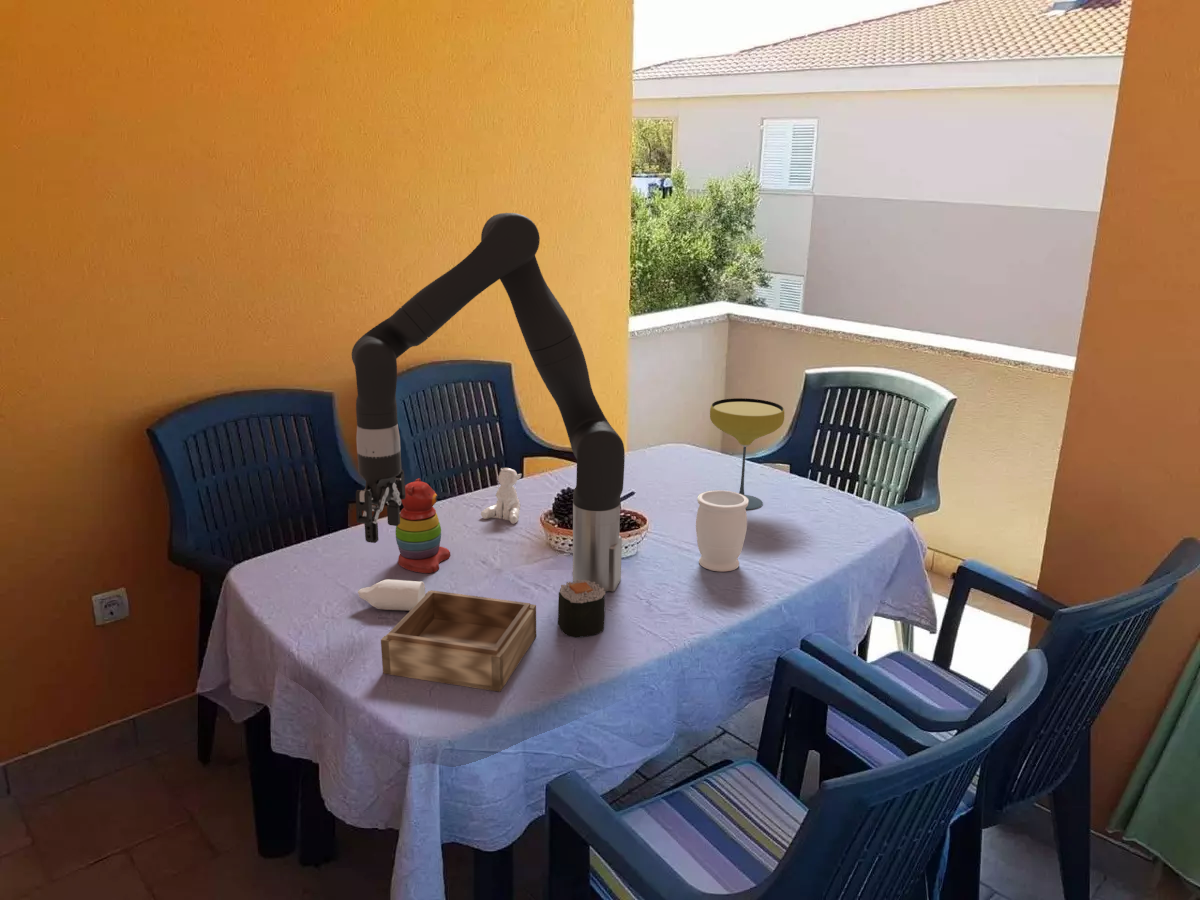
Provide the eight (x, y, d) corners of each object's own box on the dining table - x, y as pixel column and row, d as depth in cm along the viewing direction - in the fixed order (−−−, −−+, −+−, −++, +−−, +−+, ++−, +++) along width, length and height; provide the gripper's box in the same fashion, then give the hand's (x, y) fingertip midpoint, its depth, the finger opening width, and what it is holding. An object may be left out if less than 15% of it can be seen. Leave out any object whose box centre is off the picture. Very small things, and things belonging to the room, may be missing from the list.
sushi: (569, 641, 156) (569, 600, 154) (552, 620, 164) (552, 580, 161) (611, 632, 159) (612, 592, 157) (593, 612, 167) (593, 573, 164)
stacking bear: (434, 574, 181) (430, 492, 176) (388, 569, 183) (383, 488, 178) (453, 553, 191) (450, 475, 186) (409, 549, 193) (405, 472, 188)
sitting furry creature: (479, 519, 211) (478, 471, 207) (496, 507, 219) (495, 460, 215) (515, 524, 208) (514, 476, 204) (531, 512, 216) (530, 465, 212)
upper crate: (530, 633, 157) (530, 603, 155) (497, 684, 141) (496, 650, 139) (432, 620, 161) (430, 590, 159) (389, 667, 146) (387, 634, 144)
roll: (364, 599, 170) (362, 573, 169) (426, 601, 170) (424, 575, 168) (354, 614, 165) (352, 587, 163) (418, 616, 164) (417, 589, 163)
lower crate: (536, 636, 158) (536, 604, 156) (500, 691, 141) (499, 657, 139) (430, 621, 162) (428, 590, 160) (382, 673, 145) (380, 639, 143)
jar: (749, 559, 191) (754, 494, 186) (736, 578, 182) (740, 510, 177) (702, 550, 195) (706, 486, 190) (687, 568, 186) (690, 501, 181)
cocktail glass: (726, 485, 236) (731, 394, 229) (789, 500, 226) (797, 405, 219) (692, 504, 222) (696, 408, 215) (757, 521, 212) (764, 420, 205)
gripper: (379, 462, 150) (383, 550, 155) (415, 439, 164) (419, 521, 168) (339, 458, 152) (345, 545, 157) (378, 436, 165) (383, 517, 170)
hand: (383, 533), depth 163 cm, fingers open, 8 cm apart
